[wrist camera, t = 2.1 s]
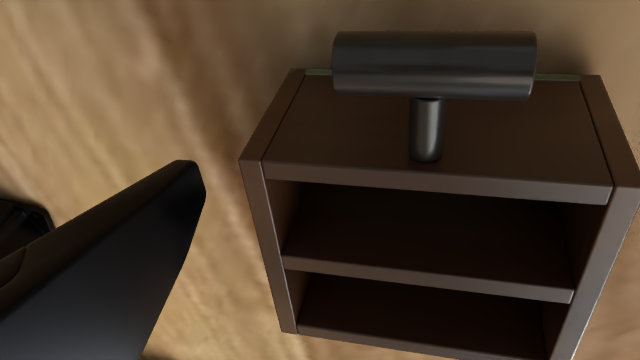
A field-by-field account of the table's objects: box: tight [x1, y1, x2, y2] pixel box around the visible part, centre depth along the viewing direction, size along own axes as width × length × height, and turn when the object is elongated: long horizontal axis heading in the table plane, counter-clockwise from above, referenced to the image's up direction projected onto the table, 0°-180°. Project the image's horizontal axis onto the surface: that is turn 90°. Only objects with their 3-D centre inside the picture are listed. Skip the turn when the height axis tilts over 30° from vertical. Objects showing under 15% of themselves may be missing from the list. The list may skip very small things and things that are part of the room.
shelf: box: [238, 31, 640, 360], centre depth 19 cm, size 14×12×6 cm
